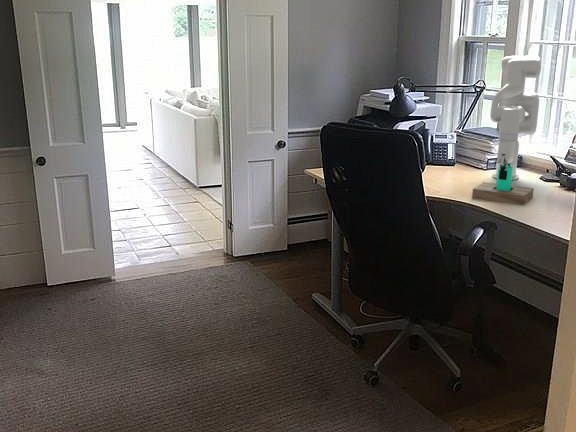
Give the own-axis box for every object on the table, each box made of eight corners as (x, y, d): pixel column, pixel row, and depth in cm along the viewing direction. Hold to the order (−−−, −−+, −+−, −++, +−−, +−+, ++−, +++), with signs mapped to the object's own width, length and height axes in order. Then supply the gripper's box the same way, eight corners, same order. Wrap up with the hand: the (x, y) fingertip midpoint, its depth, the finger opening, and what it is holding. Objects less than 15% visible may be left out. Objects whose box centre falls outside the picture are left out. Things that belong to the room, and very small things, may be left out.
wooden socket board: (483, 190, 282) (484, 181, 281) (532, 197, 270) (533, 188, 269) (472, 197, 270) (472, 188, 269) (523, 204, 258) (524, 195, 257)
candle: (501, 191, 266) (503, 164, 262) (493, 188, 271) (495, 162, 268) (513, 191, 267) (516, 164, 264) (505, 187, 273) (507, 161, 269)
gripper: (505, 133, 271) (501, 173, 276) (493, 138, 258) (489, 180, 263) (522, 135, 267) (518, 175, 272) (512, 140, 254) (507, 183, 259)
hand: (504, 177), depth 268 cm, fingers closed on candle, 4 cm apart
